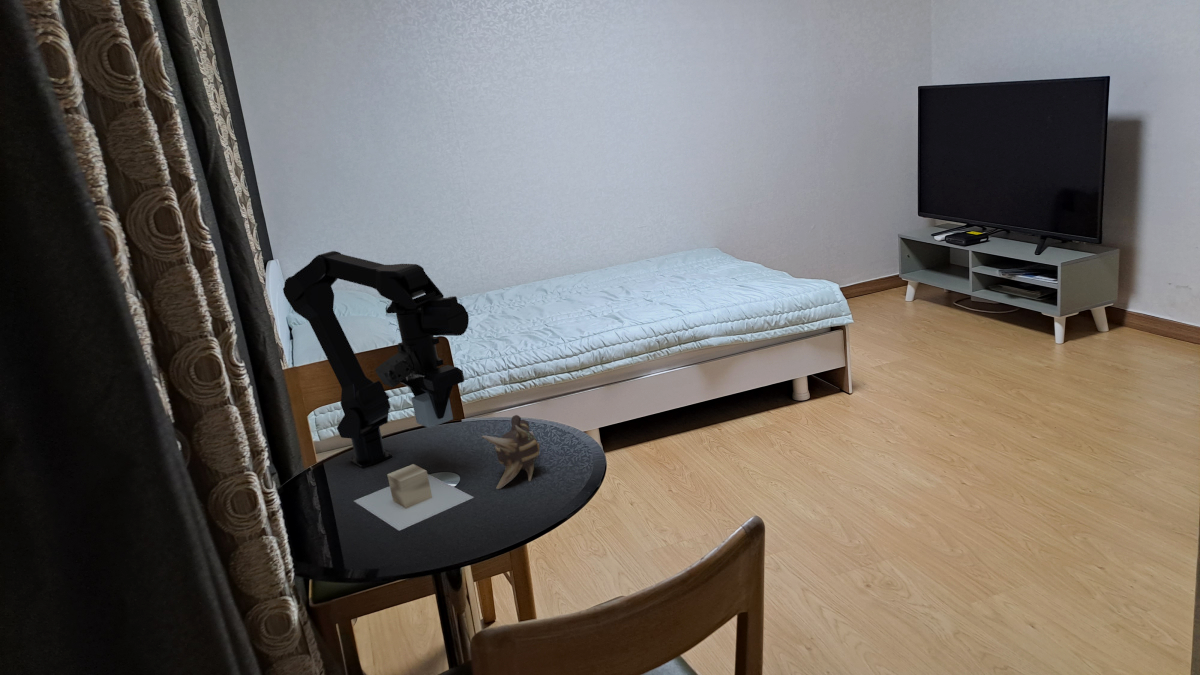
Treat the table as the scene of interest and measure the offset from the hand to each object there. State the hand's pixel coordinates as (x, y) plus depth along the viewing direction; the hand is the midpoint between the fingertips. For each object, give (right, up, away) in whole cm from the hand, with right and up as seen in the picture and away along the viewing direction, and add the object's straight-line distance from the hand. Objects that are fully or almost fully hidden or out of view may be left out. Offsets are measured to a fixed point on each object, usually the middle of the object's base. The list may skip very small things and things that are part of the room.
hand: (433, 415), depth 155 cm
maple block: (-1, -13, -11) cm, 17 cm away
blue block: (0, -1, 0) cm, 1 cm away
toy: (+17, -10, -5) cm, 20 cm away
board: (-1, -14, -11) cm, 18 cm away
